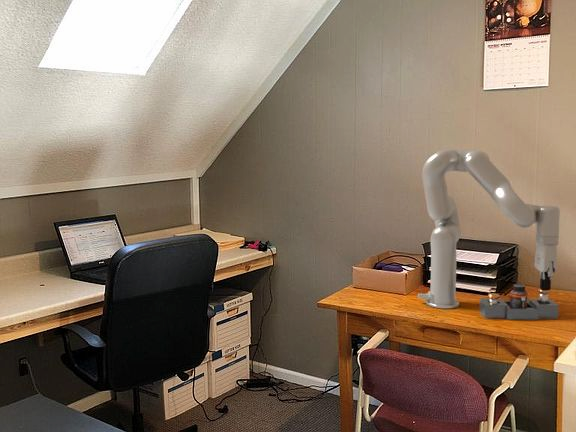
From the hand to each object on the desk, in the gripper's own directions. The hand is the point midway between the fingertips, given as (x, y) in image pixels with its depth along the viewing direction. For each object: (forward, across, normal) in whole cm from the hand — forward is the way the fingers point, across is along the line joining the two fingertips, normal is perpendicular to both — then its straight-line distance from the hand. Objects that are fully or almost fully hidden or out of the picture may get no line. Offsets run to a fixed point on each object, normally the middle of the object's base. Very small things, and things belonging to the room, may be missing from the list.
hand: (545, 289), depth 226 cm
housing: (+10, 0, -9) cm, 14 cm away
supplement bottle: (+10, 0, -9) cm, 14 cm away
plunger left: (+8, 0, -18) cm, 20 cm away
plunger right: (+6, 0, 0) cm, 7 cm away
